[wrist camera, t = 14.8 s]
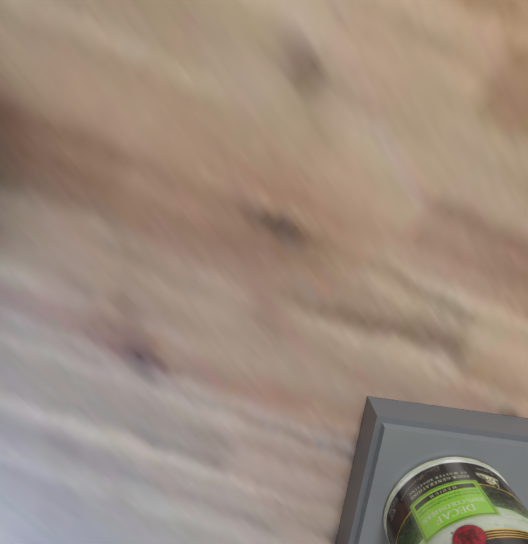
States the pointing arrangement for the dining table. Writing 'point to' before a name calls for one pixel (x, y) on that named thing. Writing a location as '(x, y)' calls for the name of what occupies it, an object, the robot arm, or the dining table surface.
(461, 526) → the coffee can
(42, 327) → the dining table surface
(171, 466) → the dining table surface
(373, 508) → the pedestal
